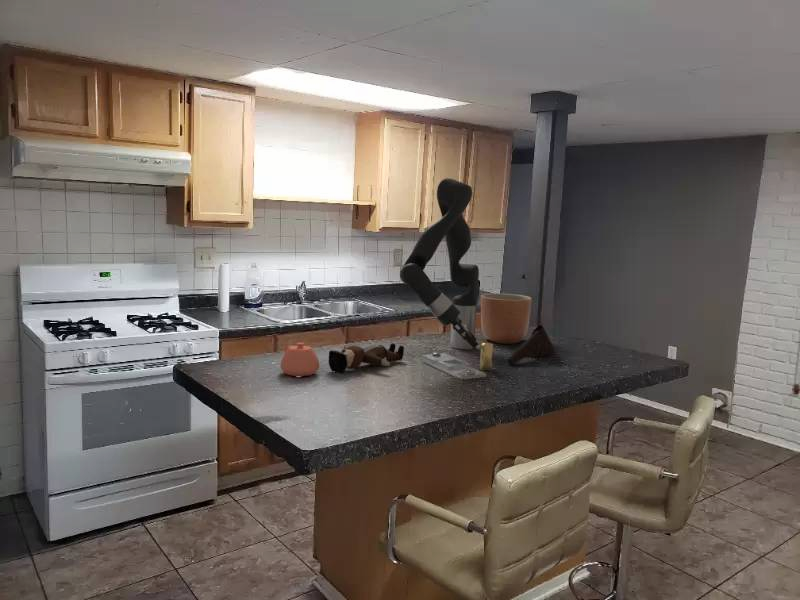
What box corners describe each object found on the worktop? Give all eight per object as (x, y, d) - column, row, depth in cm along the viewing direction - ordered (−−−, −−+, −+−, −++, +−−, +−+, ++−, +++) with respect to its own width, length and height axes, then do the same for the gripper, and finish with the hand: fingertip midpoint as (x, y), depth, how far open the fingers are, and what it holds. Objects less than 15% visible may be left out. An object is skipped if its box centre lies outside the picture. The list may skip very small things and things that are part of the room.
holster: (525, 394, 231) (559, 352, 244) (514, 360, 223) (549, 318, 236) (514, 391, 234) (548, 349, 247) (502, 357, 226) (538, 316, 240)
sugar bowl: (296, 381, 195) (297, 348, 193) (269, 372, 204) (269, 341, 203) (327, 374, 204) (327, 343, 202) (299, 366, 213) (300, 336, 212)
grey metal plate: (421, 361, 226) (422, 352, 226) (444, 359, 231) (444, 350, 230) (461, 379, 203) (461, 370, 203) (485, 377, 208) (486, 367, 207)
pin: (477, 368, 219) (478, 342, 218) (487, 367, 221) (488, 342, 220) (484, 371, 216) (485, 345, 215) (493, 370, 218) (495, 344, 217)
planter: (468, 339, 269) (471, 295, 266) (499, 334, 283) (502, 292, 280) (508, 348, 254) (511, 301, 251) (538, 342, 268) (541, 298, 265)
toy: (423, 351, 218) (361, 352, 196) (419, 378, 219) (357, 382, 197) (375, 338, 234) (312, 337, 212) (372, 363, 235) (308, 366, 213)
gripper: (452, 305, 209) (485, 340, 210) (451, 299, 223) (481, 332, 224) (435, 320, 210) (468, 355, 211) (435, 313, 224) (466, 346, 225)
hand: (475, 343), depth 218 cm, fingers open, 8 cm apart
